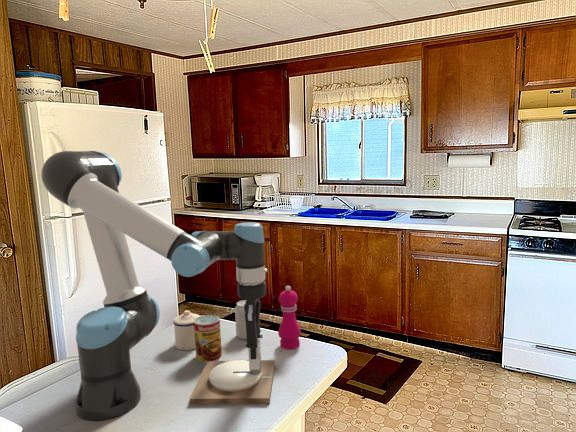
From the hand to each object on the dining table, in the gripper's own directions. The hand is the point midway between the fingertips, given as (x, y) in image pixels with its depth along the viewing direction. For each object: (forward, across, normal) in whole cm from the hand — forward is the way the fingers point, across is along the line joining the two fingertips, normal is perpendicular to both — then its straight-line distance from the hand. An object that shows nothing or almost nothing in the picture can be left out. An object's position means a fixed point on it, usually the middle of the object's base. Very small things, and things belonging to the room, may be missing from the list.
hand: (255, 365), depth 115 cm
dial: (+3, 0, +6) cm, 6 cm away
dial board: (+5, 0, +6) cm, 7 cm away
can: (+5, +31, +6) cm, 32 cm away
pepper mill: (+5, +23, -9) cm, 25 cm away
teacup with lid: (+5, +26, +25) cm, 37 cm away
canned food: (+5, +16, +16) cm, 24 cm away
